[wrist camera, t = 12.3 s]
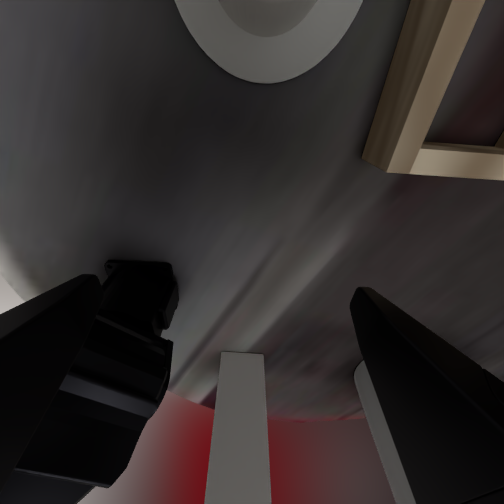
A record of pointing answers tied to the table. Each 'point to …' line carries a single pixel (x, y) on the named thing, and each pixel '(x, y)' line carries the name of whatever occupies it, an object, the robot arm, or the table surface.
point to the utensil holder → (382, 437)
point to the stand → (427, 97)
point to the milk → (239, 434)
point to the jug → (267, 15)
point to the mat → (267, 39)
